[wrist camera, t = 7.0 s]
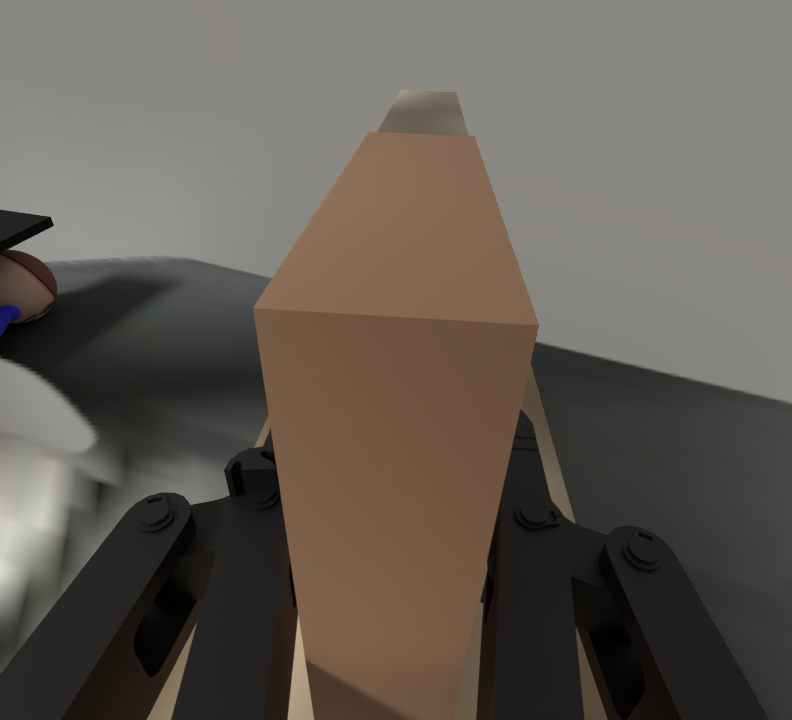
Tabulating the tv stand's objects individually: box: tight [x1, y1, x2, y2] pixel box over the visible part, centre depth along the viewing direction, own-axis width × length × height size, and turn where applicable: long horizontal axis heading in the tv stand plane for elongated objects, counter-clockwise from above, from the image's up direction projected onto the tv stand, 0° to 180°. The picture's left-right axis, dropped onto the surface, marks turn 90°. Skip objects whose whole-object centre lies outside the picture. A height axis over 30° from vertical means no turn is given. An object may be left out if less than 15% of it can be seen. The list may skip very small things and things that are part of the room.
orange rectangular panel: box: [253, 132, 539, 720], centre depth 12 cm, size 2×9×14 cm, turn 176°
